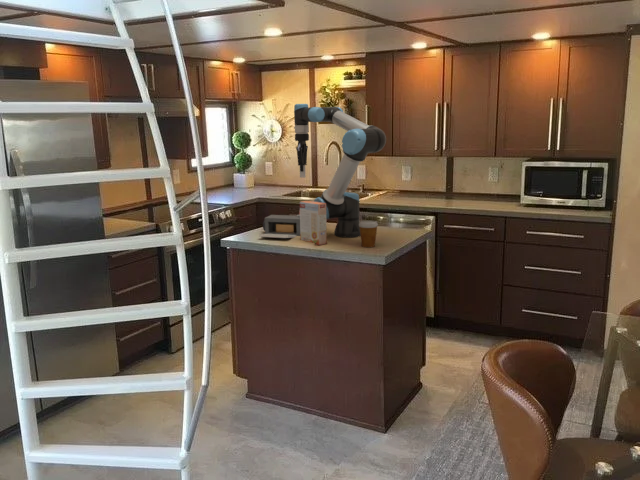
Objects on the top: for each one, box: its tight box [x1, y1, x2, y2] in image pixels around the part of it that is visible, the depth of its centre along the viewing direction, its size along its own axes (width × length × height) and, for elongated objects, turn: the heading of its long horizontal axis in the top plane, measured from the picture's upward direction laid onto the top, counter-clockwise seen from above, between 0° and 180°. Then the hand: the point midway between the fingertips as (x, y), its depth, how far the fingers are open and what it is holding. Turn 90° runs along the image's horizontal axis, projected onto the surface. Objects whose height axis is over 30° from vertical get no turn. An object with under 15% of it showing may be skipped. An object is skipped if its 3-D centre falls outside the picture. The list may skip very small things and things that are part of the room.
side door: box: [258, 233, 297, 239], centre depth 305 cm, size 16×1×13 cm
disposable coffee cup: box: [359, 220, 379, 248], centre depth 286 cm, size 10×10×12 cm
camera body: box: [262, 214, 300, 237], centre depth 316 cm, size 22×10×11 cm, turn 73°
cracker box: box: [299, 200, 328, 246], centre depth 295 cm, size 14×6×21 cm, turn 43°
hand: (302, 177), depth 317 cm, fingers closed
